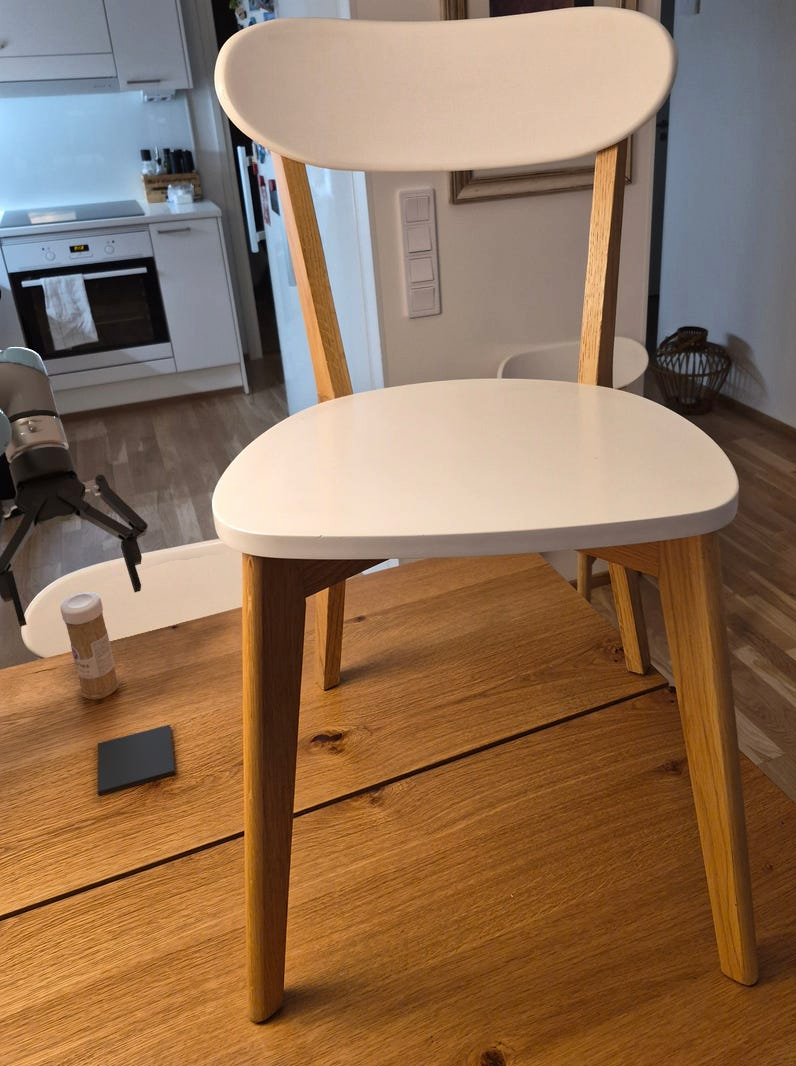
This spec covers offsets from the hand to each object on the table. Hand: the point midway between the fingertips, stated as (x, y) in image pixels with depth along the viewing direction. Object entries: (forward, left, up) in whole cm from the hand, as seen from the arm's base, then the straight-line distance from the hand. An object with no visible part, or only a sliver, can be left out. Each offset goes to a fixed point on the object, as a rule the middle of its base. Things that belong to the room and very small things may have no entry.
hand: (82, 605), depth 108 cm
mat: (+4, -19, -11) cm, 22 cm away
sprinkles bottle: (0, -4, -11) cm, 11 cm away
